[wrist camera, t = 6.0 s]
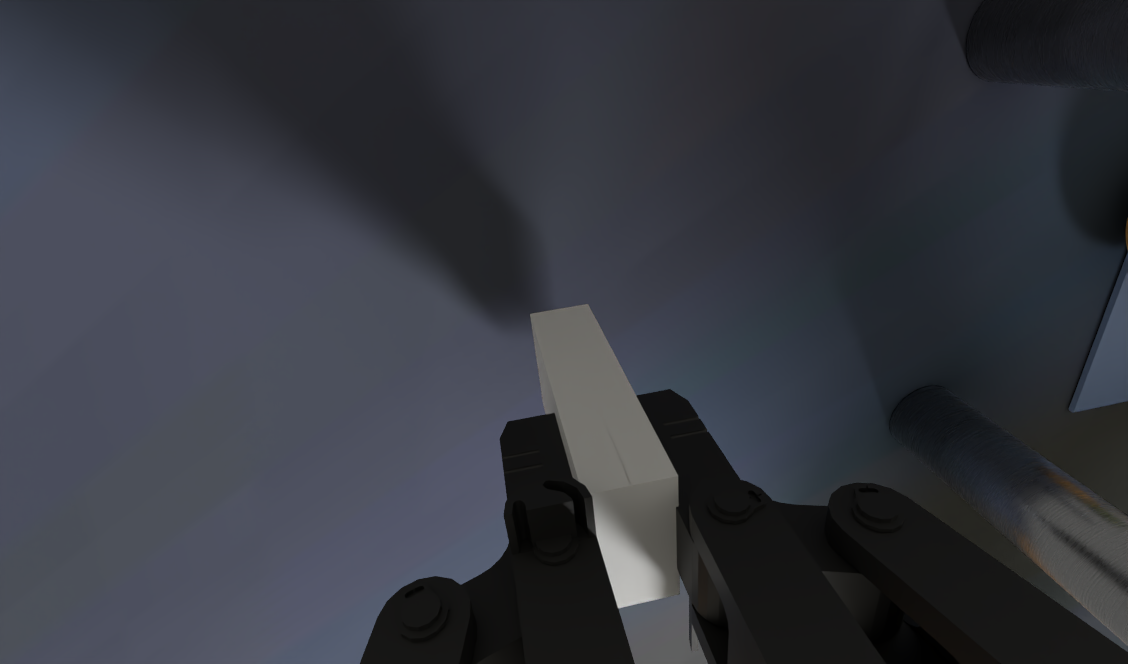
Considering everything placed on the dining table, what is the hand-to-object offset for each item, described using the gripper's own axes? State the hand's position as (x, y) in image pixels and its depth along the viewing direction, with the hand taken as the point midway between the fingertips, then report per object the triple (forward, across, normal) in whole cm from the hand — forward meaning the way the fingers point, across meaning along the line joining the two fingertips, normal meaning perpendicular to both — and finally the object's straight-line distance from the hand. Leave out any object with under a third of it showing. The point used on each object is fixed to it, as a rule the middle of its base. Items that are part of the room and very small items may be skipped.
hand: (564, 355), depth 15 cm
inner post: (+2, -13, +6) cm, 15 cm away
